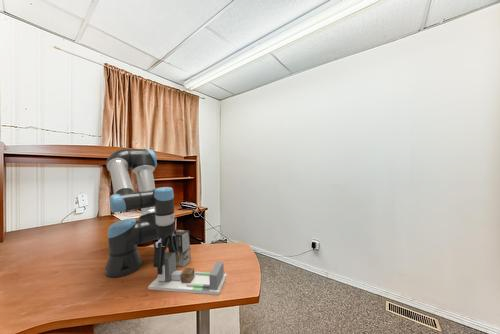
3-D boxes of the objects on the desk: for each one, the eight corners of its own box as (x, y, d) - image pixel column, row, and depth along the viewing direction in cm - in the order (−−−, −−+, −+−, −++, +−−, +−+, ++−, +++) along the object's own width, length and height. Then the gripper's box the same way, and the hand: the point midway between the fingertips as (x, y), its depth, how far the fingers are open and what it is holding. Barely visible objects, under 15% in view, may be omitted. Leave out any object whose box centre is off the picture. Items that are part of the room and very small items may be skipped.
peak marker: (181, 282, 83) (180, 273, 83) (186, 276, 87) (185, 267, 87) (190, 283, 82) (189, 274, 82) (194, 276, 87) (194, 268, 87)
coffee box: (191, 260, 103) (190, 230, 102) (183, 267, 97) (182, 235, 96) (177, 258, 106) (175, 228, 105) (168, 264, 100) (167, 233, 99)
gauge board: (148, 289, 81) (147, 272, 81) (164, 272, 93) (164, 257, 92) (218, 294, 77) (218, 277, 76) (226, 276, 89) (226, 260, 88)
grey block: (158, 281, 84) (157, 258, 83) (165, 273, 89) (164, 252, 89) (178, 282, 82) (177, 259, 82) (184, 274, 88) (183, 253, 87)
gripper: (159, 232, 74) (161, 291, 75) (184, 216, 95) (186, 262, 96) (140, 232, 75) (143, 289, 76) (170, 215, 96) (171, 261, 97)
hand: (167, 274), depth 86 cm, fingers open, 8 cm apart
